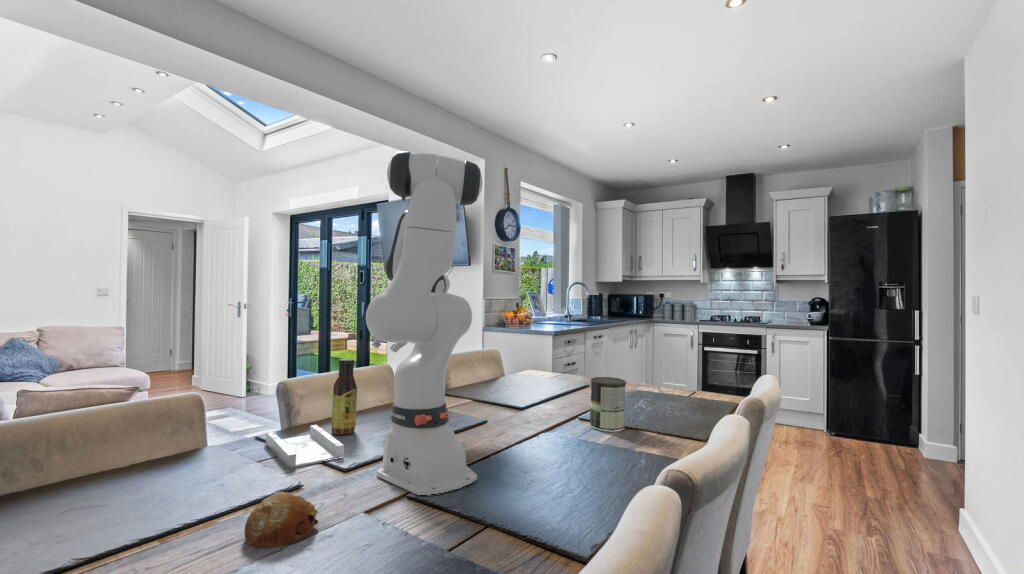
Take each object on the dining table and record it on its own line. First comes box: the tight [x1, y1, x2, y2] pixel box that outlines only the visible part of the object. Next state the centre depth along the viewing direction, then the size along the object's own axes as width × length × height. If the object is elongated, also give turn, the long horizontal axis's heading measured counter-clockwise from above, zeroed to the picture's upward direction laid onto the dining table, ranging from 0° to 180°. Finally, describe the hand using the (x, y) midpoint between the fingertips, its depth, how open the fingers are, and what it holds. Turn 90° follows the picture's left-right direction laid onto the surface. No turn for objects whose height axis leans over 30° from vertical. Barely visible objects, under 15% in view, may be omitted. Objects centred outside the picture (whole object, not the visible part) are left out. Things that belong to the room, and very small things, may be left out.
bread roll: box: [244, 491, 319, 549], centre depth 77 cm, size 10×10×8 cm
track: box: [265, 424, 345, 470], centre depth 114 cm, size 20×12×3 cm, turn 40°
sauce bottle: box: [330, 358, 358, 436], centre depth 129 cm, size 6×6×20 cm
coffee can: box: [589, 376, 627, 431], centre depth 142 cm, size 10×10×14 cm
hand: (383, 348), depth 138 cm, fingers open, 8 cm apart
